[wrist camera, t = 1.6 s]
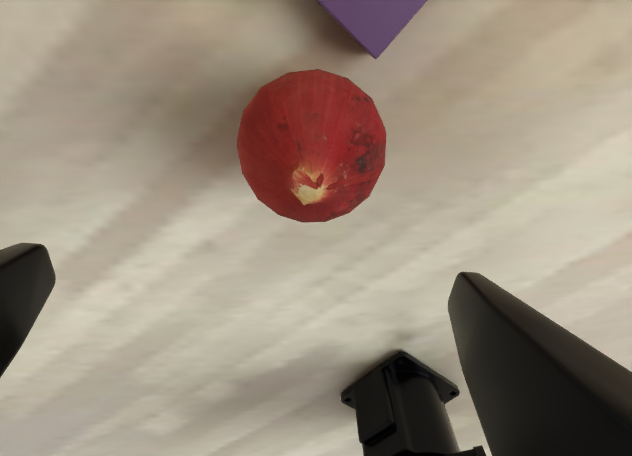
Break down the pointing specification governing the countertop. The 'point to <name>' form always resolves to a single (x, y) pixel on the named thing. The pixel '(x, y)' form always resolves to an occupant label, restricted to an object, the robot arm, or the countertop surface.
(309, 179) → the onion
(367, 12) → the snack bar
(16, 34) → the countertop surface
